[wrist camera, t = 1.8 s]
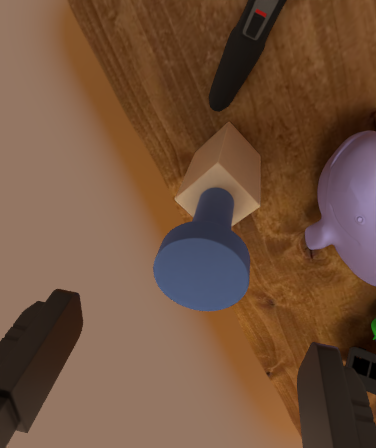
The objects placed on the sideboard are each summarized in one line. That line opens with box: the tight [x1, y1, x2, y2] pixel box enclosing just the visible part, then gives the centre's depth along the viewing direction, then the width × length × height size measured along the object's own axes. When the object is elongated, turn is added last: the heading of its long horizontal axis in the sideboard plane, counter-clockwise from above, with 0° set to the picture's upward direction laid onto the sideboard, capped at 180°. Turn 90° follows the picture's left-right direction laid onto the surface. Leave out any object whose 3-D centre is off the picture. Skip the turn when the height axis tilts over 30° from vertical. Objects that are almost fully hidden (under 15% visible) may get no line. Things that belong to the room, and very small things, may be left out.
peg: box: [153, 187, 250, 311], centre depth 26 cm, size 6×6×10 cm
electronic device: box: [345, 347, 376, 395], centre depth 48 cm, size 7×11×5 cm
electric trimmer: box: [209, 0, 286, 111], centre depth 31 cm, size 4×16×3 cm, turn 156°
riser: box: [175, 122, 261, 227], centre depth 35 cm, size 6×6×12 cm
